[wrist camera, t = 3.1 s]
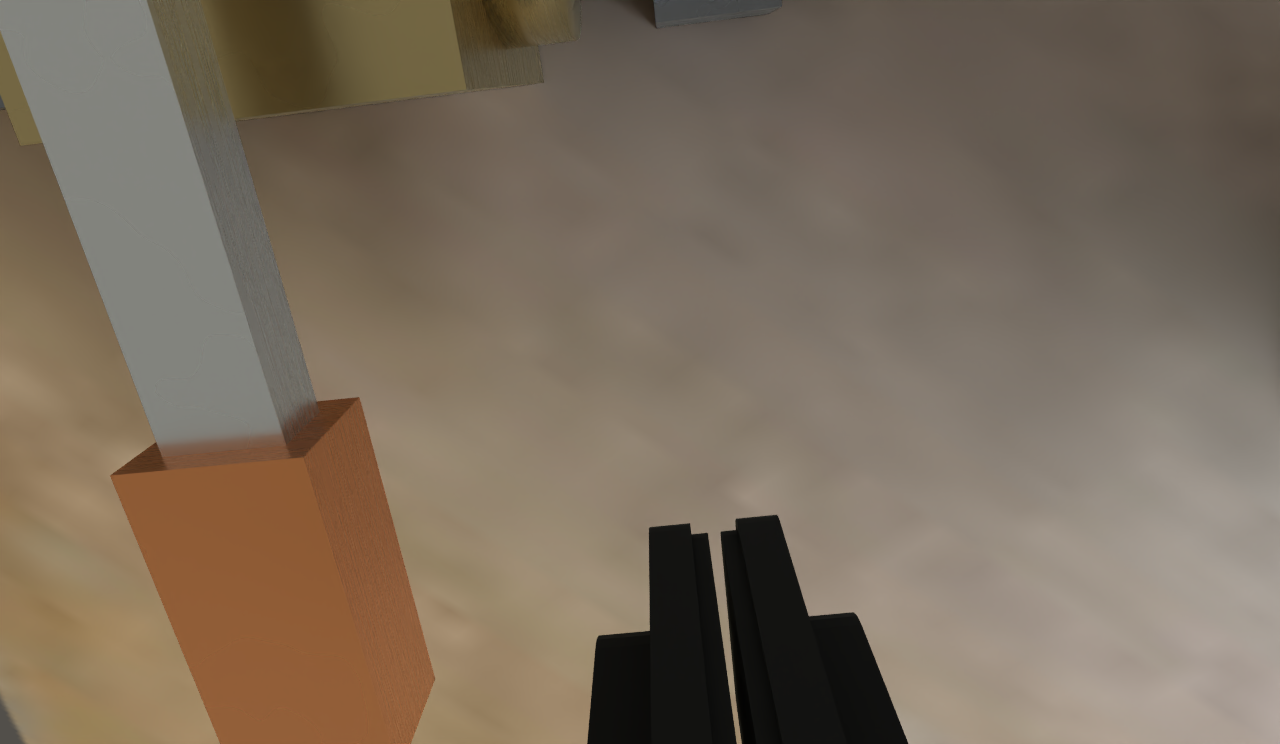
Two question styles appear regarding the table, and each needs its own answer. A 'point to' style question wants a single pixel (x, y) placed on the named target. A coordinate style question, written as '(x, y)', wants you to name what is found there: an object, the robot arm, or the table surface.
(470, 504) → the table surface
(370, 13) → the pipe valve
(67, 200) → the valve handle
